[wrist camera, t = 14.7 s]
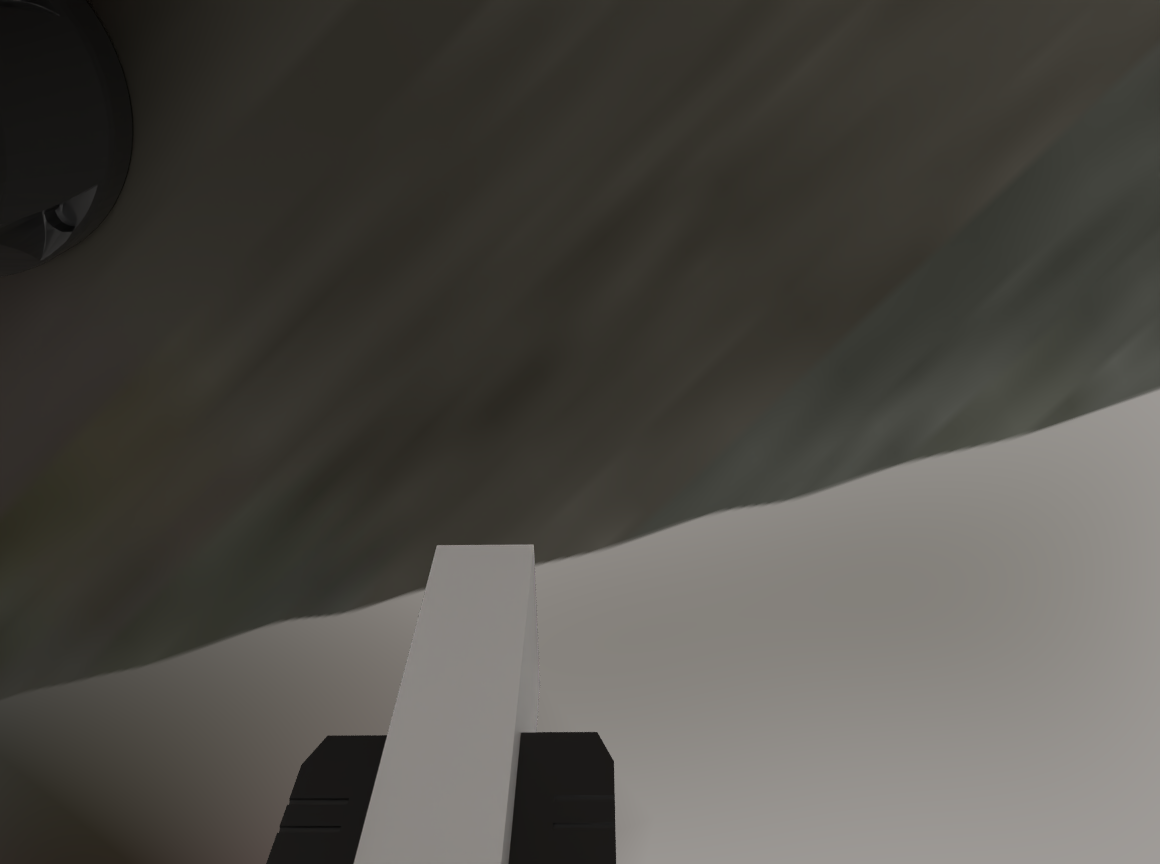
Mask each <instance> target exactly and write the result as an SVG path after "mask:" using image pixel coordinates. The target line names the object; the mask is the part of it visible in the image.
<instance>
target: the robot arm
mask: <svg viewBox="0 0 1160 864" xmlns="http://www.w3.org/2000/svg"><path fill="white" fill-rule="evenodd" d="M131 149H132V114H131V105H130V99H129V94H128V89H127V85H126V81H125V78H124V75H123V71H122V68H121V65H120V63H119V60H118V57H117V55H116V52H115V50H114V48H113V46H112V43H111V41H110V39H109V37H108V35H107V33H106V32H105V30H104V28H103V26H102V24H101V23H100V21H99V19H98V18H97V16H96V15H95V13H94V11H93V10H92V9H91V7H90V6H89V4H88V3H87V1H86V0H0V277H1V276H6V275H11V274H15V273H19V272H22V271H25V270H29V269H31V268H34V267H36V266H39V265H41V264H43V263H45V262H47V261H49V260H51V259H53V258H54V257H56V256H58V255H60V254H61V253H63V252H65V251H66V250H68V249H70V248H71V247H73V246H75V245H76V244H78V243H79V242H81V241H82V240H83V239H85V238H86V237H87V236H88V235H89V234H90V233H92V232H93V231H94V230H95V229H96V228H97V227H98V226H99V224H100V223H101V222H102V221H103V220H104V218H105V217H106V216H107V215H108V213H109V212H110V210H111V208H112V207H113V205H114V204H115V202H116V200H117V198H118V196H119V194H120V192H121V189H122V187H123V184H124V181H125V178H126V175H127V172H128V167H129V162H130V157H131ZM539 690H540V673H539V652H538V629H537V607H536V584H535V561H534V545H437V547H436V551H435V555H434V559H433V562H432V566H431V570H430V574H429V578H428V582H427V585H426V589H425V593H424V597H423V601H422V605H421V608H420V613H419V616H418V620H417V624H416V627H415V631H414V635H413V639H412V643H411V647H410V650H409V654H408V658H407V662H406V666H405V669H404V673H403V677H402V681H401V685H400V689H399V692H398V696H397V700H396V704H395V708H394V711H393V715H392V719H391V723H390V727H389V731H388V735H384V736H383V735H382V736H327V737H326V738H325V739H324V741H323V742H322V743H321V744H320V745H319V746H318V747H317V748H316V749H315V751H314V752H313V753H312V754H311V755H310V756H309V757H308V758H307V759H306V761H305V762H304V763H303V764H302V765H301V768H300V771H299V773H298V776H297V779H296V782H295V785H294V788H293V790H292V793H291V796H290V803H289V805H287V807H286V810H285V813H284V816H283V818H282V821H281V824H280V831H279V833H277V835H276V838H275V841H274V844H273V846H272V849H271V852H270V855H269V858H268V860H267V863H266V864H616V844H615V843H616V840H615V800H614V799H615V798H614V797H615V795H614V761H613V759H612V757H611V756H610V754H609V752H608V751H607V749H606V747H605V745H604V744H603V742H602V740H601V738H600V736H599V735H598V733H597V732H542V733H541V732H538V733H537V732H536V731H537V718H538V704H539Z"/></svg>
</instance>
